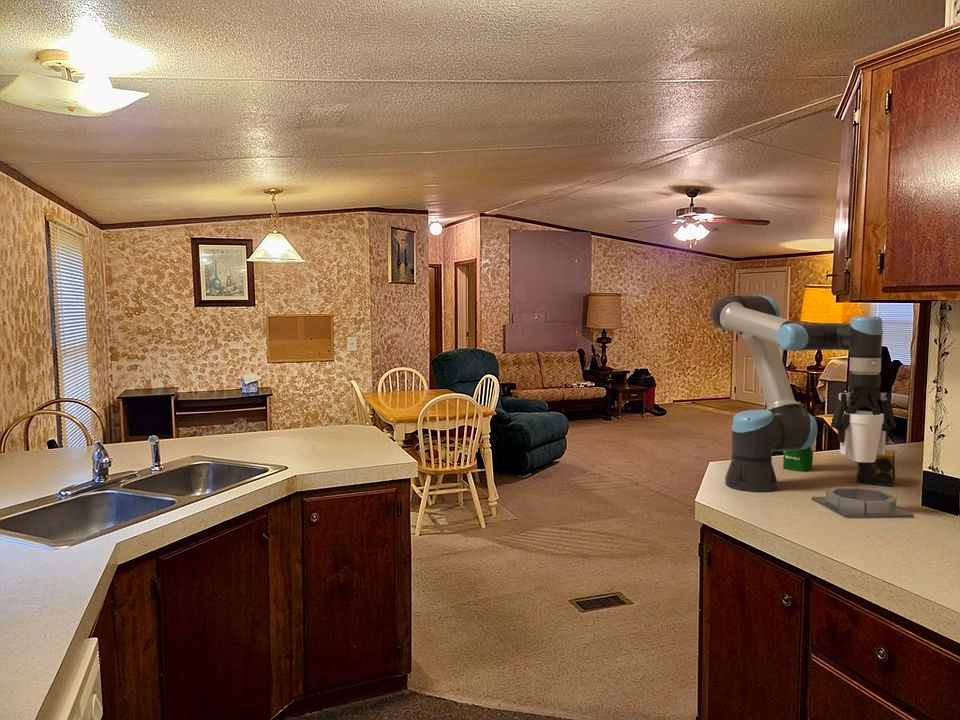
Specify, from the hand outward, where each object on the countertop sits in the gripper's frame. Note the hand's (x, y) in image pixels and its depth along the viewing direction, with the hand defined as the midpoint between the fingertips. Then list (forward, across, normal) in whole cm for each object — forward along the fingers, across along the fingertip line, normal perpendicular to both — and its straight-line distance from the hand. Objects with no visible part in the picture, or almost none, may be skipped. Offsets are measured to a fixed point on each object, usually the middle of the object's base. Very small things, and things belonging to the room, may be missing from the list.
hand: (862, 454), depth 187 cm
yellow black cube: (+15, +22, +29) cm, 40 cm away
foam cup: (+2, 0, 0) cm, 2 cm away
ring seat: (+15, 0, 0) cm, 15 cm away
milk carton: (+15, +6, +48) cm, 51 cm away
